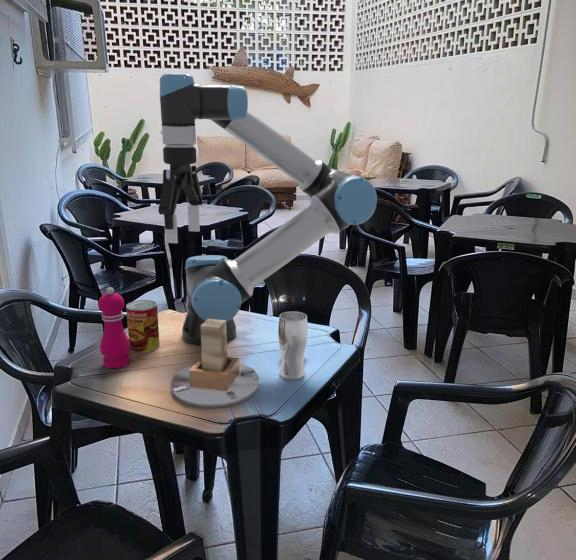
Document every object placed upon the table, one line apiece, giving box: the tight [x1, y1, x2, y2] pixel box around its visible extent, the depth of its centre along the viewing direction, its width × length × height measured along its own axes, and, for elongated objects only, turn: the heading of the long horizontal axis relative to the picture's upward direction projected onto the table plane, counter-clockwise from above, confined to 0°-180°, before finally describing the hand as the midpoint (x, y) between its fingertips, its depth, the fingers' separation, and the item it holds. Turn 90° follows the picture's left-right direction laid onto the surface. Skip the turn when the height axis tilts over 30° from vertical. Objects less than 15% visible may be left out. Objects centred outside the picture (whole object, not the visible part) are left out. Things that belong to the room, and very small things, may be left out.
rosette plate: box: [170, 356, 260, 409], centre depth 121 cm, size 20×20×6 cm
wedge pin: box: [200, 319, 228, 372], centre depth 120 cm, size 4×4×14 cm
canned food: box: [125, 299, 161, 354], centre depth 140 cm, size 8×8×12 cm
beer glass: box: [277, 311, 309, 381], centre depth 126 cm, size 7×7×15 cm
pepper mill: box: [98, 286, 131, 369], centre depth 129 cm, size 7×7×20 cm
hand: (183, 236), depth 127 cm, fingers open, 13 cm apart
